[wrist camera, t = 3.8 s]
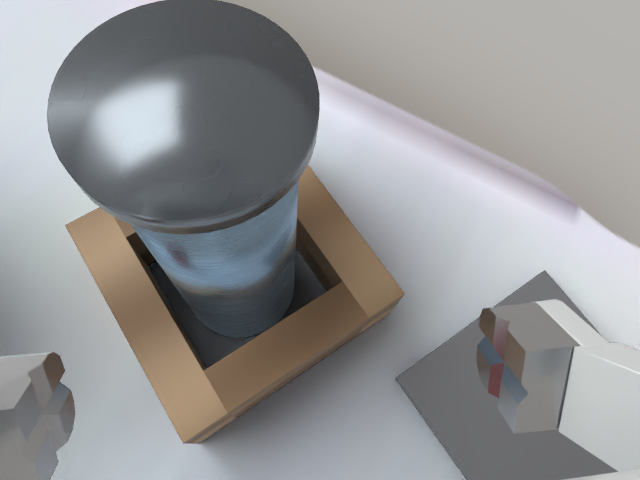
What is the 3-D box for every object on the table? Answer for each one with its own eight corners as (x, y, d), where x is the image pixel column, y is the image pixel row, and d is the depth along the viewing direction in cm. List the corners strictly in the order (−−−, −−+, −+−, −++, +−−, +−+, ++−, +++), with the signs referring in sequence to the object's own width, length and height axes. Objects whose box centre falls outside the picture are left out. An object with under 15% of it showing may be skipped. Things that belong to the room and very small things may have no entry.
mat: (677, 436, 22) (687, 435, 22) (532, 572, 20) (539, 576, 19) (539, 274, 25) (544, 270, 24) (395, 378, 22) (398, 376, 22)
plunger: (326, 302, 24) (371, 133, 11) (218, 372, 22) (123, 272, 9) (261, 208, 25) (234, -34, 12) (156, 267, 24) (4, 61, 11)
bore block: (388, 314, 24) (404, 293, 20) (199, 443, 21) (183, 443, 18) (274, 158, 26) (272, 118, 23) (95, 254, 24) (65, 225, 21)
